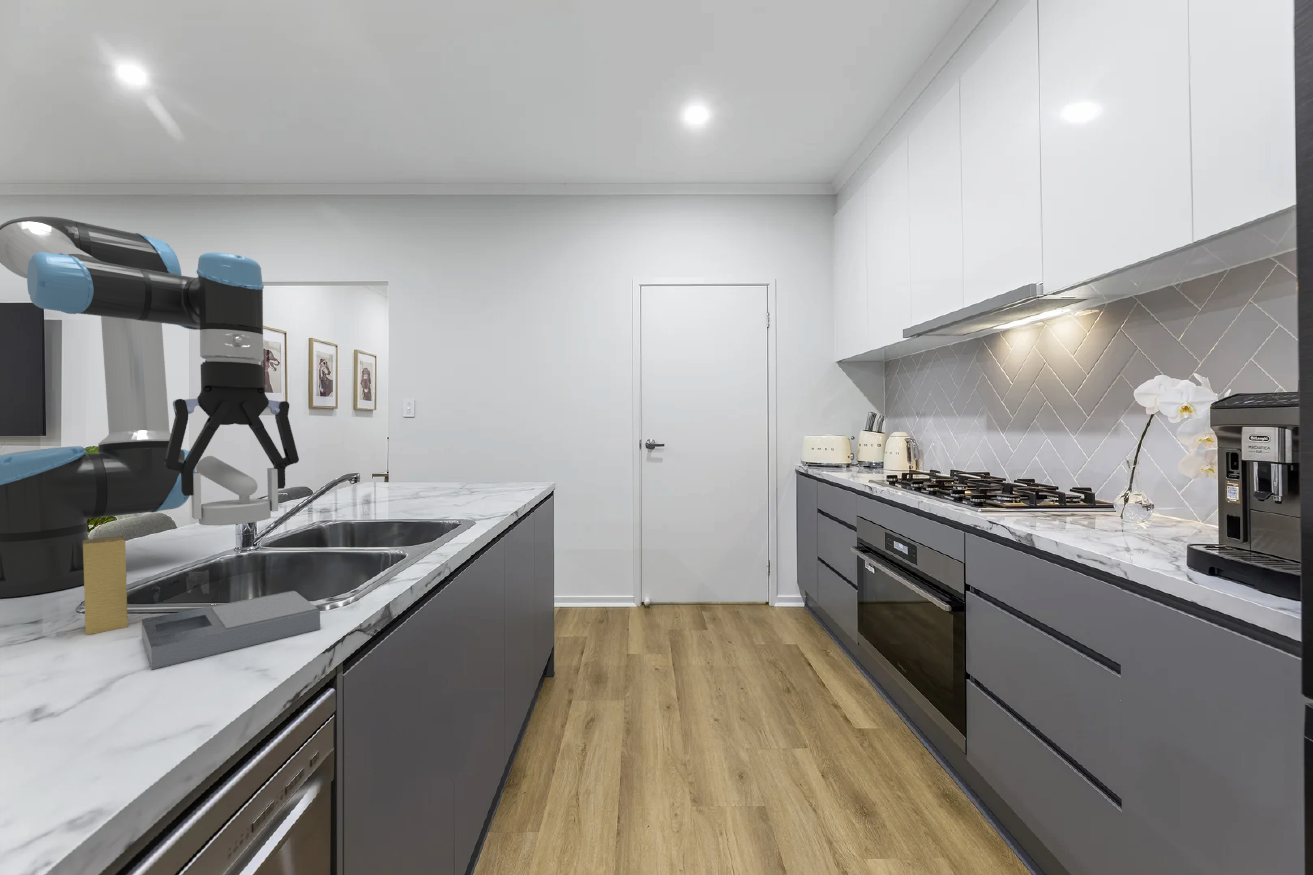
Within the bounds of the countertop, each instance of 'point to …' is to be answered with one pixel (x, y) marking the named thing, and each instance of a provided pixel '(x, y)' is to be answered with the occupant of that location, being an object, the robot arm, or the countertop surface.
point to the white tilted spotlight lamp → (238, 484)
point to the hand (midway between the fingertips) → (236, 513)
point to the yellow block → (105, 584)
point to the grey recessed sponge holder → (226, 627)
